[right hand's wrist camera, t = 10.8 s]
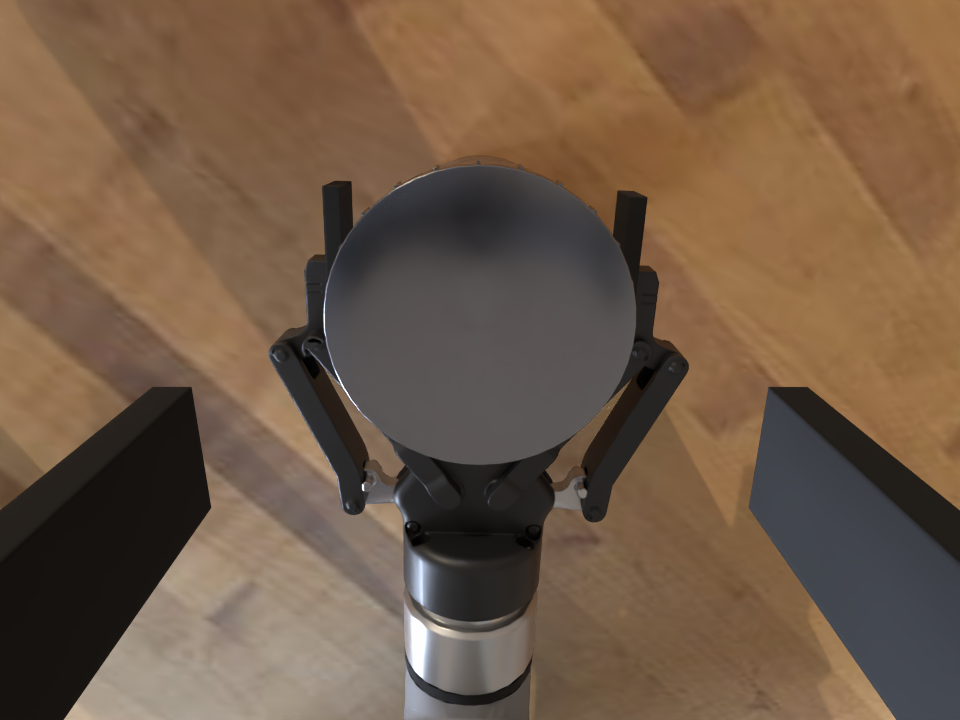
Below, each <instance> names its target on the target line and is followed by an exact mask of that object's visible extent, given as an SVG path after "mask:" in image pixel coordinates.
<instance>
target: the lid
mask: <svg viewBox="0 0 960 720" xmlns="http://www.w3.org/2000/svg"><path fill="white" fill-rule="evenodd" d="M563 185H564V184H563V183H561V182H560V181H558V180H557V181H556V182H554V181H553V180H551V179H549V178H547V177H545V176H543V175H541V174H539V173H536V172H533V171H530V170H527V169H524V167H523V166H522V165H521V164H519V165H518V167H517V166H512V165H507V164H502V163H492V162H480V159H477V162H468V163H457V164H452V165H448V166H443V167H439V165H436V166H435V167H434V168H433V170H430V171H427V172H425V173H422V174H419V175H417V176H415V177H413V178H411V179H410V180H408V181H406V182H404V183H401V182H398V183H397V184H396V185H394V188H395V189H393V190H392V191H390V192H389V193H388V194H386V195H385V196H384V197H382V198H381V199H380V200H378V201H377V202H376V203H375V204H374V205H373V206H372V207H371V208H369V207H368V208H367V209H366V210H364V211H363V212H362V213H361V214H362V215H363V216H362V217H361V218H360V219H359V221H358V222H357V223H356V224H355V226H354V227H353V228H352V229H351V231H350V232H349V233H348V235H347V237H346V239H345V240H344V242H343V243H342V244H341V245H340V246H339V251H338V253H337V256H336V258H335V260H334V263H333V265H332V268H331V271H330V275H329V279H328V282H327V284H326V292H325V301H324V330H325V336H326V343H327V348H328V351H329V355H330V358H331V361H332V365H333V367H334V369H335V372H336V374H337V376H338V378H339V380H340V383H341V384H342V386H343V388H344V389H345V391H346V392H347V394H348V396H349V397H350V399H351V400H352V402H353V403H354V404H355V405H356V406H357V408H358V409H359V410H360V411H361V413H362V414H363V415H364V416H365V417H366V418H367V419H368V420H369V421H370V422H371V423H372V424H373V425H375V426H376V427H377V428H378V429H379V430H381V431H382V432H383V433H385V434H386V435H387V436H389V437H390V438H391V439H393V440H395V441H396V442H398V443H400V444H402V445H403V446H405V447H407V448H409V449H411V450H413V451H416V452H418V453H421V454H423V455H425V456H428V457H432V458H435V459H439V460H442V461H447V462H453V463H459V464H471V465H489V464H502V463H507V462H513V461H518V460H521V459H525V458H528V457H531V456H534V455H537V454H540V453H542V452H544V451H546V450H549V449H551V448H553V447H555V446H557V445H558V444H560V443H562V442H564V441H565V440H567V439H569V438H570V437H572V436H573V435H574V434H575V433H577V432H578V431H579V430H581V429H582V428H583V427H585V426H586V425H587V424H588V423H589V422H590V421H591V420H592V419H593V418H594V417H595V416H596V415H597V414H598V413H599V412H600V410H601V409H602V408H603V406H604V405H605V404H606V403H607V401H608V400H609V399H610V398H611V396H612V394H613V393H614V391H615V389H616V388H617V386H618V384H619V383H620V381H621V378H622V376H623V374H624V372H625V369H626V367H627V365H628V362H629V358H630V355H631V351H632V348H633V343H634V336H635V330H636V301H635V293H634V286H633V281H632V278H631V275H630V271H629V268H628V265H627V263H626V260H625V258H624V256H623V253H622V251H621V249H620V247H619V246H620V244H619V242H617V241H616V240H615V239H614V237H613V235H612V234H611V232H610V230H609V229H608V228H607V227H606V226H605V224H604V223H603V222H602V221H601V219H600V218H599V217H598V216H597V215H596V212H597V211H596V210H595V209H594V208H592V207H591V206H590V205H589V206H587V205H586V204H585V203H584V202H583V201H581V200H580V199H579V198H578V197H577V196H575V195H574V194H572V193H571V192H570V191H568V190H567V189H565V188H564V187H563Z"/></svg>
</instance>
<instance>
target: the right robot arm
mask: <svg viewBox="0 0 960 720" xmlns="http://www.w3.org/2000/svg"><path fill="white" fill-rule="evenodd" d="M210 509H211V503H210V497H209V491H208V485H207V479H206V473H205V467H204V461H203V455H202V448H201V442H200V436H199V430H198V424H197V418H196V412H195V406H194V400H193V394H192V387H152V388H151V389H150V390H148V391H147V392H146V393H145V394H143V395H142V396H141V397H140V398H139V399H137V400H136V401H135V402H134V403H132V404H131V405H130V406H129V407H127V408H126V409H125V410H124V411H122V412H121V413H120V414H119V415H118V416H116V417H115V418H114V419H113V420H111V421H110V422H109V423H108V424H106V425H105V426H104V427H103V428H101V429H100V430H99V431H98V432H97V433H95V434H94V435H93V436H92V437H90V438H89V439H88V440H87V441H85V442H84V443H83V444H82V445H81V446H79V447H78V448H77V449H76V450H74V451H73V452H72V453H71V454H69V455H68V456H67V457H66V458H64V459H63V460H62V461H61V462H60V463H58V464H57V465H56V466H55V467H53V468H52V469H51V470H50V471H48V472H47V473H46V474H45V475H44V476H42V477H41V478H40V479H39V480H37V481H36V482H35V483H34V484H32V485H31V486H30V487H29V488H27V489H26V490H25V491H24V492H23V493H21V494H20V495H19V496H18V497H16V498H15V499H14V500H13V501H11V502H10V503H9V504H8V505H7V506H5V507H4V508H3V509H2V510H0V720H64V718H65V717H66V716H67V714H68V713H69V711H70V710H71V708H72V707H73V705H74V704H75V703H76V701H77V700H78V698H79V697H80V695H81V694H82V693H83V691H84V690H85V688H86V687H87V685H88V684H89V683H90V681H91V680H92V678H93V677H94V675H95V674H96V672H97V671H98V670H99V668H100V667H101V665H102V664H103V662H104V661H105V660H106V658H107V657H108V655H109V654H110V652H111V651H112V649H113V648H114V647H115V645H116V644H117V642H118V641H119V639H120V638H121V637H122V635H123V634H124V632H125V631H126V629H127V628H128V627H129V625H130V624H131V622H132V621H133V619H134V618H135V616H136V615H137V614H138V612H139V611H140V609H141V608H142V606H143V605H144V604H145V602H146V601H147V599H148V598H149V596H150V595H151V593H152V592H153V591H154V589H155V588H156V586H157V585H158V583H159V582H160V581H161V579H162V578H163V576H164V575H165V573H166V572H167V570H168V569H169V568H170V566H171V565H172V563H173V562H174V560H175V559H176V558H177V556H178V555H179V553H180V552H181V550H182V549H183V548H184V546H185V545H186V543H187V542H188V540H189V539H190V537H191V536H192V535H193V533H194V532H195V530H196V529H197V527H198V526H199V525H200V523H201V522H202V520H203V519H204V517H205V516H206V514H207V513H208V512H209V510H210ZM749 509H750V510H751V512H752V513H753V514H754V516H755V517H756V519H757V520H758V522H759V523H760V525H761V526H762V527H763V529H764V530H765V532H766V533H767V535H768V536H769V537H770V539H771V540H772V542H773V543H774V545H775V546H776V548H777V549H778V550H779V552H780V553H781V555H782V556H783V558H784V559H785V560H786V562H787V563H788V565H789V566H790V568H791V569H792V570H793V572H794V573H795V575H796V576H797V578H798V579H799V581H800V582H801V583H802V585H803V586H804V588H805V589H806V591H807V592H808V593H809V595H810V596H811V598H812V599H813V601H814V602H815V604H816V605H817V606H818V608H819V609H820V611H821V612H822V614H823V615H824V616H825V618H826V619H827V621H828V622H829V624H830V625H831V627H832V628H833V629H834V631H835V632H836V634H837V635H838V637H839V638H840V639H841V641H842V642H843V644H844V645H845V647H846V648H847V649H848V651H849V652H850V654H851V655H852V657H853V658H854V660H855V661H856V662H857V664H858V665H859V667H860V668H861V670H862V671H863V672H864V674H865V675H866V677H867V678H868V680H869V681H870V683H871V684H872V685H873V687H874V688H875V690H876V691H877V693H878V694H879V695H880V697H881V698H882V700H883V701H884V703H885V704H886V705H887V707H888V708H889V710H890V711H891V713H892V714H893V716H894V717H895V718H896V720H960V510H958V509H957V508H956V507H955V506H953V505H952V504H951V503H950V502H949V501H947V500H946V499H945V498H944V497H942V496H941V495H940V494H939V493H937V492H936V491H935V490H934V489H933V488H931V487H930V486H929V485H928V484H926V483H925V482H924V481H923V480H921V479H920V478H919V477H918V476H916V475H915V474H914V473H913V472H912V471H910V470H909V469H908V468H907V467H905V466H904V465H903V464H902V463H900V462H899V461H898V460H897V459H896V458H894V457H893V456H892V455H891V454H889V453H888V452H887V451H886V450H884V449H883V448H882V447H881V446H879V445H878V444H877V443H876V442H875V441H873V440H872V439H871V438H870V437H868V436H867V435H866V434H865V433H863V432H862V431H861V430H860V429H859V428H857V427H856V426H855V425H854V424H852V423H851V422H850V421H849V420H847V419H846V418H845V417H844V416H842V415H841V414H840V413H839V412H838V411H836V410H835V409H834V408H833V407H831V406H830V405H829V404H828V403H826V402H825V401H824V400H823V399H821V398H820V397H819V396H818V395H817V394H815V393H814V392H813V391H812V390H810V389H809V388H808V387H768V394H767V400H766V406H765V412H764V418H763V424H762V430H761V436H760V442H759V448H758V455H757V461H756V467H755V473H754V479H753V485H752V491H751V497H750V503H749Z"/></svg>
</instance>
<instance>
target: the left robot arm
mask: <svg viewBox="0 0 960 720" xmlns="http://www.w3.org/2000/svg"><path fill="white" fill-rule="evenodd" d="M322 193H323V214H324V235H325V255H314V256H313V257H312V258H311V259H309V260H308V262H307V265H306V268H305V271H304V274H305V290H306V307H307V325H306V326H303V327H300V328H291V329H288V330H287V331H285V332H284V334H283V335H282V336H281V337H280V338H279V339H278V340H277V341H276V342H275V343H274V344H273V345H272V347H271V348H270V350H269V358H270V361H271V362H272V364H273V366H274V368H275V369H276V371H277V373H278V375H279V376H280V378H281V380H282V382H283V383H284V385H285V387H286V389H287V390H288V392H289V394H290V396H291V397H292V399H293V401H294V403H295V404H296V406H297V408H298V410H299V411H300V413H301V415H302V417H303V418H304V420H305V422H306V423H307V425H308V427H309V429H310V430H311V432H312V434H313V436H314V437H315V439H316V441H317V443H318V444H319V446H320V448H321V450H322V451H323V453H324V455H325V457H326V458H327V460H328V462H329V464H330V465H331V467H332V469H333V471H334V472H335V474H336V476H337V479H338V486H339V492H340V499H341V506H342V508H343V510H344V511H345V512H346V513H348V514H350V515H357V514H360V513H361V512H362V511H363V510H364V508H365V504H378V503H395V504H396V505H397V507H398V508H399V510H400V512H401V514H402V516H403V523H404V581H405V584H406V585H405V590H404V629H405V659H406V674H405V709H404V720H529V699H530V674H531V663H532V654H533V649H534V638H535V625H536V611H537V587H538V582H539V572H540V559H541V546H542V534H543V524H544V521H545V518H546V516H547V515H548V513H549V512H550V511H551V510H552V508H561V509H570V510H580V511H582V512H583V515H584V517H585V519H586V520H588V521H590V522H598V521H601V520H602V519H603V518H604V517H605V515H606V512H607V508H608V503H609V498H610V494H611V489H612V485H613V484H614V482H615V481H616V479H617V478H618V476H619V475H620V473H621V472H622V470H623V469H624V467H625V466H626V464H627V463H628V461H629V460H630V458H631V457H632V455H633V454H634V452H635V451H636V449H637V448H638V446H639V445H640V443H641V442H642V440H643V439H644V437H645V436H646V434H647V433H648V431H649V430H650V428H651V427H652V425H653V424H654V422H655V421H656V419H657V418H658V416H659V415H660V413H661V412H662V410H663V409H664V407H665V405H666V404H667V402H668V401H669V399H670V398H671V396H672V395H673V393H674V392H675V390H676V389H677V387H678V386H679V384H680V383H681V381H682V380H683V378H684V377H685V375H686V374H687V372H688V369H689V364H688V362H687V360H686V359H685V358H684V357H683V355H682V354H681V353H680V352H679V351H678V350H677V349H676V347H675V346H674V345H673V344H672V343H671V342H669V341H666V340H660V339H657V338H655V337H653V326H654V318H655V310H656V303H657V294H658V287H659V281H658V277H657V274H656V272H655V271H654V270H653V269H652V268H651V267H649V266H639V265H640V256H641V248H642V240H643V231H644V223H645V214H646V206H647V197H645V196H643V195H641V194H639V193H637V192H634V191H618V193H617V202H616V212H615V222H614V231H613V237H614V239H615V240H616V241H617V242H619V244H620V246H619V247H620V249H621V251H622V253H623V256H624V258H625V260H626V263H627V265H628V268H629V271H630V275H631V278H632V281H633V286H634V293H635V301H636V330H635V336H634V343H633V348H632V351H631V355H630V358H629V362H628V365H627V367H626V369H625V372H624V374H623V376H622V378H621V381H620V383H619V384H618V386H617V388H616V389H615V391H614V393H613V394H612V396H611V398H610V399H609V400H608V401H607V402H609V401H610V400H611V399H612V398H613V397H614V396H615V395H616V394H617V393H618V392H619V391H620V390H621V389H622V388H623V387H624V386H625V385H626V384H627V383H628V382H629V381H630V380H631V379H632V380H631V381H630V383H629V384H628V386H627V388H626V389H625V391H624V392H623V394H622V396H621V397H620V399H619V400H618V402H617V403H616V405H615V407H614V408H613V410H612V411H611V413H610V414H609V416H608V418H607V419H606V421H605V422H604V424H603V425H602V427H601V429H600V430H599V432H598V433H597V435H596V436H595V438H594V440H593V441H592V443H591V444H590V446H589V448H588V450H587V451H586V453H585V456H584V458H583V460H582V464H581V467H579V466H575V467H573V468H572V469H571V471H570V472H569V473H568V475H567V477H566V478H565V479H564V480H563V481H561V482H558V483H553V482H552V479H551V478H550V476H549V475H548V473H547V472H546V471H545V470H546V469H547V468H548V467H549V466H550V465H551V464H552V463H553V462H554V460H555V459H556V458H557V456H558V453H559V451H560V449H561V448H562V447H563V446H564V445H565V444H566V443H567V442H568V441H569V440H570V439H571V438H572V437H573V436H574V435H575V434H576V433H575V434H574V435H573V436H572V437H570V438H569V439H567V440H565V441H564V442H562V443H560V444H558V445H557V446H555V447H553V448H551V449H549V450H546V451H544V452H542V453H540V454H537V455H534V456H531V457H528V458H525V459H521V460H518V461H513V462H507V463H502V464H489V465H471V464H459V463H453V462H447V461H442V460H439V459H435V458H432V457H428V456H425V455H423V454H421V453H418V452H416V451H413V450H411V449H409V448H407V447H405V446H403V445H402V444H400V443H398V442H396V441H395V440H393V439H391V438H390V437H389V436H387V435H386V434H385V433H383V432H382V431H381V430H380V431H381V432H382V433H383V434H384V435H385V437H386V438H387V439H388V440H389V441H390V442H391V444H392V445H393V448H394V451H395V453H396V455H397V456H398V457H399V459H400V460H401V461H402V462H403V463H404V464H405V466H404V468H403V469H402V470H401V471H400V472H399V474H398V476H397V478H393V477H389V476H387V475H386V474H385V473H384V472H383V469H382V467H381V466H380V465H379V463H378V461H376V460H370V461H369V456H368V452H367V449H366V446H365V444H364V442H363V440H362V438H361V436H360V434H359V432H358V430H357V429H356V427H355V425H354V423H353V421H352V419H351V418H350V416H349V414H348V412H347V410H346V408H345V407H344V405H343V403H342V401H341V399H340V397H339V396H338V394H337V392H336V390H335V388H334V386H333V385H332V383H331V381H330V379H329V377H328V375H327V374H326V372H325V370H324V368H325V369H326V370H327V372H328V373H329V374H330V375H331V376H332V377H333V378H334V379H335V381H336V382H337V383H338V384H339V385H340V386H341V387H342V388H343V386H342V384H341V383H340V380H339V378H338V376H337V374H336V372H335V369H334V367H333V365H332V361H331V358H330V355H329V351H328V348H327V343H326V336H325V330H324V301H325V292H326V284H327V282H328V279H329V275H330V271H331V268H332V265H333V263H334V260H335V258H336V256H337V253H338V251H339V246H340V245H341V244H342V243H343V242H344V240H345V239H346V237H347V235H348V233H349V232H350V231H351V229H352V228H353V214H352V184H351V181H334V182H331V183H329V184H326V185H324V186H322ZM323 367H324V368H323ZM343 389H344V388H343ZM344 391H345V389H344ZM345 392H346V391H345ZM346 393H347V392H346Z"/></svg>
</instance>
